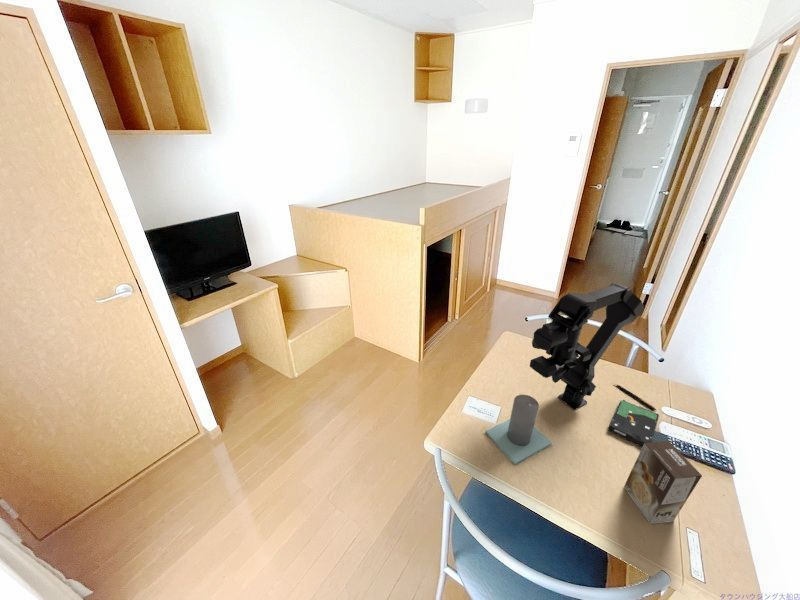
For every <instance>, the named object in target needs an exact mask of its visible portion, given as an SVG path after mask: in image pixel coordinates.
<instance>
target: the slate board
mask: <svg viewBox="0 0 800 600" xmlns="http://www.w3.org/2000/svg"><path fill="white" fill-rule="evenodd" d="M509 422H510V418H509V419H508V420H505V421H503V422H500V423H499V424H496V425H494V426H493V427H491V428H488V429H486V430H485V434H486V435H487V436H488V437H489V438H490V439H491V441H492V442H493V443H494V444H495V445H496V446H497V447H498V449H499V450H500V451H501V452H502V454H504V455H505V456H506V457H507V458H508V459H509V460H510V462H511V463H512V464H513V465H514V466H517V465H518V464H520V463H522V462H524V461H526V460H527V459H529V458H532V456H534V455H536V454H538V453H540V452H541V451H543V450H545V449H547V448H549V447H551V446H553V442H552V441H551V440H550V439H549V438H548V437H546V435H545V434H543V433H542V432H541V431H540V430H539V429H538V428H537V427H536V426H535V425H534V428H533V432H532V436H531V440H530V443H529V444H528V445H525V446H519V445H516V444H514V443H512V442H511V441H510V440H509V438H508V436H507V432H508V427H509Z"/></svg>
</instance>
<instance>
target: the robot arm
mask: <svg viewBox="0 0 800 600" xmlns="http://www.w3.org/2000/svg"><path fill="white" fill-rule="evenodd" d="M603 308H605V320H603V322H602V323H601V325H600V327H598V329H597V331H596V332H595V333H594V335H593V337H592V338H591V339H590V340H589V343H588V344H587V345H586V346H584V345H582V343H580V342H579V340H580V339H579V338H580V336H581V333H582V329H583V325H585V324H587V323H588V322H589V319H591V318H592V317H593V315H594V312H595V311H597V310H600V309H603ZM644 310H645V305H644V303H643V300H641V299H640V298H639V297H638V296H637V295H635V293H634V292H633V290H632V289H631V288H630V287H627V286H625V285H622V284H619V283H611V284H609V285H608V286H606V287H603V288H600V289H597V290H594V291H590V292H587V293H580V292H570V293H567V294H565V295H563V296H562V297H560V299H559V301H557V303H556V305H555V306H554V307H553V309H552V310H551V312H550V313H549V314H548V315H547V318H549V319H550V320H552V321H551V322H547V323H546V322H545V324H543V325H542V327H539V328H537V329H536V330H535V331H534V332H533V337H532V341H531V345H532V348H534V349H537V350H543V351H545V354H547V355H548V356H550V357H545V356H544V355H539V356H537V357H535V358H532V359H530V362H529V367H530V368H531V369H532V370H534V371H535V372H536V373H538V374H539V375H541V377H543V378H545V379H548V378H550V377H551V380H552V382H553V383H555V384H556V383H558V382H560V381H562V382H563V383H565V384H566V385H565V387H564V391H563V393H561V394H559V395H558V396H557V398H558V399H559V400H560V401H562V402H563V403H565V404H566V405H567V406H568V407H570V408H571V409H572V410H577V409H579V408H581V407H583V406H585V405H587V404H588V401H587V400H586V399H585V398H584V397H586V396H590V397H591V396H592V393H593V392H594V391H595V389H596V387H597V385H595V383H594V382H593V380H594V378H595V376H596V375H595V373H596V372H595V366H596V365H597V363H598V362H599V360H600V359H601V358H602V356H603V355H604V353H605V352H606V351H607V349H608V348H609V347H610V345H611V343H612V342H613V341H614V340H615V338H616V336H617V335H618V333H619V332H620V331H621V330H622V328H623V327H625V326H627V325H630V324H632V323H634V322H635V321H636V319H637V318H638V317H640V316H641V315H642V314H643V312H644ZM559 313H561V314H563V315H565V316H563V315H561V314H559Z"/></svg>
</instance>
